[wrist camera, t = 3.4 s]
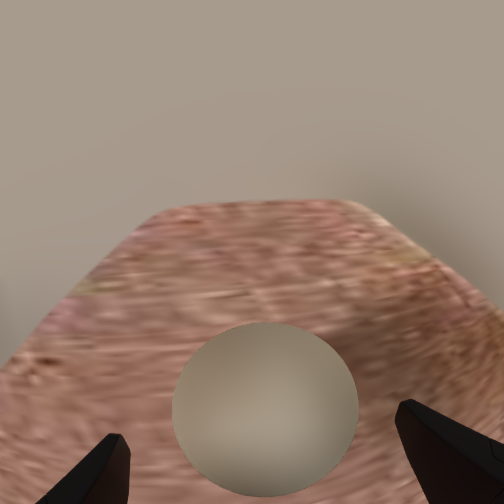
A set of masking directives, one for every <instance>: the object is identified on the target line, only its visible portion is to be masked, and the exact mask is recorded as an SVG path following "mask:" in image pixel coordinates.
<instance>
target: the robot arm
mask: <svg viewBox="0 0 504 504" xmlns="http://www.w3.org/2000/svg"><path fill="white" fill-rule="evenodd" d="M395 424H396V427H397V430H398V433H399V436H400V438H401V441H402V444H403V447H404V450H405V453H406V456H407V458H408V460H409V462H410V465H411V467H412V469H413V471H414V473H415V475H416V477H417V479H418V481H419V483H420V485H421V487H422V490H423V492H424V494H425V496H426V498H427V500H428V503H429V504H504V444H502V443H500V442H498V441H495V440H493V439H491V438H489V437H487V436H485V435H483V434H481V433H478V432H476V431H474V430H472V429H470V428H468V427H466V426H464V425H462V424H460V423H458V422H456V421H454V420H452V419H450V418H448V417H446V416H444V415H442V414H440V413H438V412H436V411H434V410H433V409H431V408H429V407H427V406H425V405H423V404H421V403H419V402H417V401H415V400H413V399H408V400H405V401H402V402H401V403H400V404H399V407H398V410H397V413H396V416H395ZM130 457H131V453H130V449H129V447H128V445H127V443H126V441H125V439H124V438H123V436H122V435H121V434H115V433H110V434H108V435H107V436H106V437H105V438H104V439H103V440H102V441H101V442H100V443H99V444H98V445H97V446H96V447H95V448H94V449H92V450H91V451H90V452H89V453H88V454H87V455H86V456H85V457H84V458H83V459H82V460H81V461H80V462H79V463H78V464H77V465H76V466H75V467H74V468H73V469H72V470H71V471H70V472H69V473H68V474H67V475H66V476H64V477H63V478H62V479H61V480H60V481H59V482H58V483H57V484H56V485H55V486H54V487H53V488H52V489H51V490H50V491H49V492H48V493H46V495H44V496H43V497H42V498H41V499H40V500H39V501H38V502H37V503H35V504H127V502H128V495H129V478H130Z"/></svg>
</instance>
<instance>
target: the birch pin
mask: <svg viewBox="0 0 504 504" xmlns="http://www.w3.org/2000/svg"><path fill="white" fill-rule="evenodd" d="M358 415H359V401H358V394H357V389H356V386H355V382H354V379H353V377H352V375H351V373H350V371H349V369H348V367H347V366H346V364H345V362H344V361H343V359H342V358H341V357H340V356H339V355H338V353H337V352H336V351H335V350H334V349H333V348H332V347H331V346H330V345H328V344H327V343H326V342H325V341H323V340H322V339H320V338H319V337H317V336H316V335H314V334H312V333H310V332H308V331H306V330H303V329H301V328H298V327H295V326H291V325H287V324H281V323H267V322H262V323H252V324H247V325H242V326H238V327H235V328H232V329H230V330H227V331H225V332H223V333H221V334H219V335H217V336H216V337H214V338H212V339H211V340H209V341H208V342H207V343H205V344H204V345H203V346H202V347H201V348H200V349H198V351H197V352H196V353H195V354H194V355H193V356H192V357H191V358H190V360H189V361H188V363H187V364H186V365H185V367H184V369H183V370H182V372H181V374H180V376H179V378H178V381H177V384H176V387H175V390H174V395H173V401H172V420H173V426H174V431H175V435H176V438H177V440H178V443H179V445H180V447H181V449H182V451H183V453H184V454H185V456H186V457H187V459H188V460H189V461H190V463H191V464H192V465H193V466H194V467H195V468H196V469H197V470H198V471H199V472H200V473H201V474H202V475H203V476H204V477H206V478H207V479H208V480H210V481H211V482H213V483H215V484H216V485H218V486H220V487H222V488H224V489H227V490H229V491H232V492H234V493H238V494H242V495H246V496H254V497H274V496H282V495H287V494H290V493H294V492H297V491H300V490H302V489H305V488H307V487H309V486H311V485H312V484H314V483H316V482H318V481H319V480H321V479H322V478H323V477H325V476H326V475H327V474H328V473H329V472H330V471H332V470H333V469H334V468H335V467H336V466H337V464H338V463H339V462H340V461H341V459H342V458H343V457H344V455H345V454H346V452H347V450H348V448H349V447H350V445H351V442H352V440H353V438H354V435H355V431H356V428H357V424H358Z"/></svg>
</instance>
